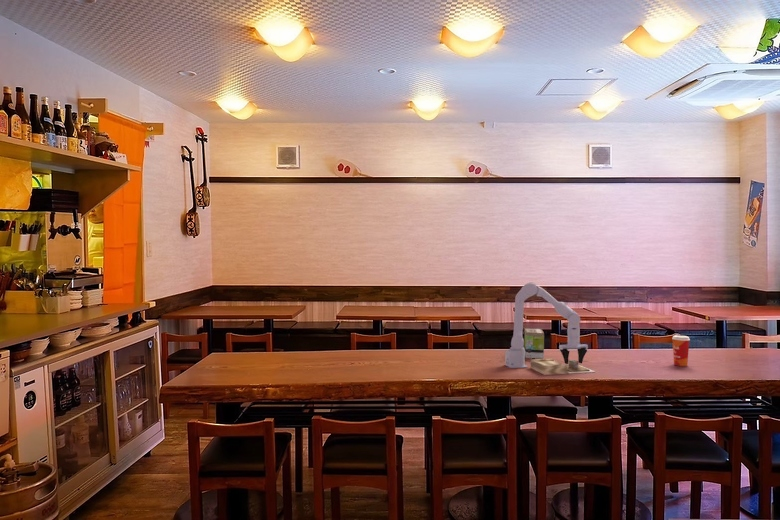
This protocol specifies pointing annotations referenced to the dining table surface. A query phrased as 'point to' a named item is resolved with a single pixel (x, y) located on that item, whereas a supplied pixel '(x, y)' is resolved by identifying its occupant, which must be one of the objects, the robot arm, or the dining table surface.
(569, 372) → the mat
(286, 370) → the dining table surface
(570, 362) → the lid
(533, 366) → the case
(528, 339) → the tea box
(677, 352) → the coffee cup
